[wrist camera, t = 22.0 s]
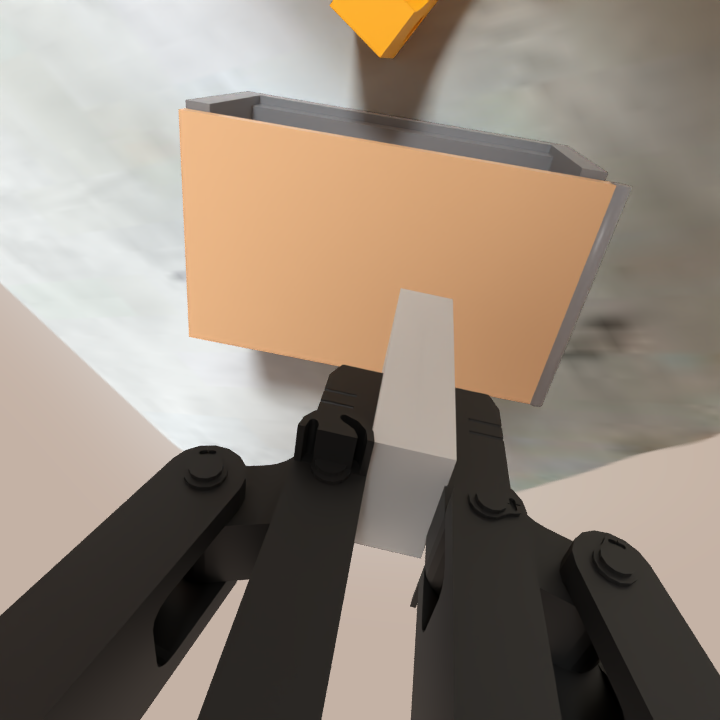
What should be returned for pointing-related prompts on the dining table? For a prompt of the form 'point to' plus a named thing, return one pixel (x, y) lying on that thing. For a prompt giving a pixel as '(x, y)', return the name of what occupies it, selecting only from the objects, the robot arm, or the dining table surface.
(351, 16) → the pipe clamp
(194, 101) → the housing
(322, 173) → the tan rectangular panel
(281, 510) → the robot arm
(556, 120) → the dining table surface
